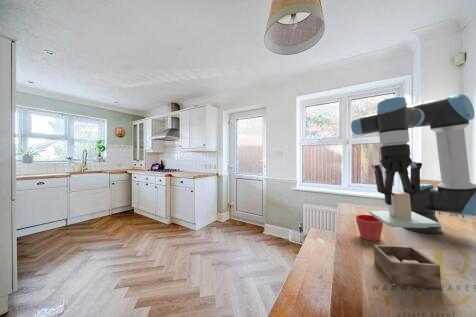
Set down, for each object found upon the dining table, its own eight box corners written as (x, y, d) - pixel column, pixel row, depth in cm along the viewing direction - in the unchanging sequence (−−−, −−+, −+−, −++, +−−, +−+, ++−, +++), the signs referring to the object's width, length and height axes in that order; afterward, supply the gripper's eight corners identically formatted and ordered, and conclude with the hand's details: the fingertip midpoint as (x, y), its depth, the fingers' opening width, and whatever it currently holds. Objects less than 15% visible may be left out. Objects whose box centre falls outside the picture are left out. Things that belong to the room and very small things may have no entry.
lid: (410, 216, 66) (408, 188, 66) (440, 230, 53) (437, 196, 53) (369, 216, 69) (367, 189, 69) (388, 229, 56) (385, 196, 56)
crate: (413, 266, 65) (412, 246, 65) (441, 289, 53) (439, 265, 53) (374, 263, 68) (373, 244, 68) (393, 285, 56) (391, 262, 56)
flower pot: (386, 244, 82) (384, 222, 82) (357, 240, 88) (355, 219, 88) (382, 235, 91) (381, 215, 91) (356, 232, 97) (355, 213, 97)
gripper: (416, 143, 63) (421, 211, 63) (361, 147, 67) (366, 211, 67) (433, 141, 56) (439, 218, 55) (371, 146, 60) (376, 217, 60)
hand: (399, 214), depth 61 cm, fingers closed on lid, 3 cm apart
